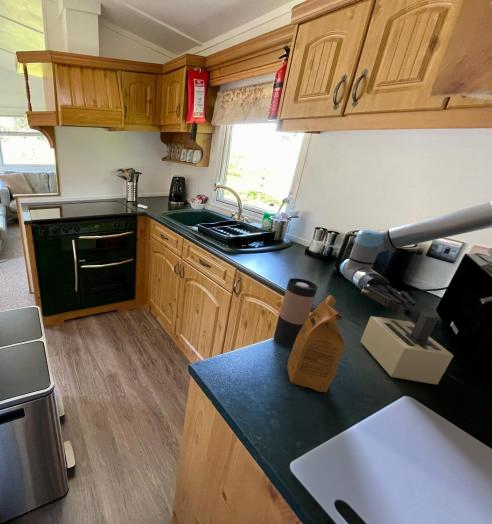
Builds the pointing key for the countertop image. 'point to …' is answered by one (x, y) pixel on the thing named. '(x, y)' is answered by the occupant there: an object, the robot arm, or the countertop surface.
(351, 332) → the countertop surface
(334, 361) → the coffee package
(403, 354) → the toaster
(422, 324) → the slide button
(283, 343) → the travel mug
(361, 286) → the robot arm
